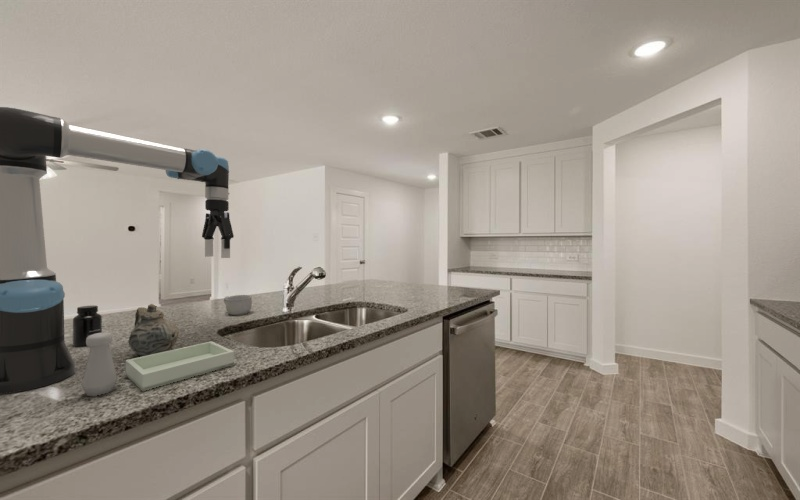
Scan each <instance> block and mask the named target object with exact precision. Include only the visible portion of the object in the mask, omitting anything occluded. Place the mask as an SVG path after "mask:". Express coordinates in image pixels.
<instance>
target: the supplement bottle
mask: <svg viewBox="0 0 800 500" xmlns="http://www.w3.org/2000/svg"><path fill="white" fill-rule="evenodd" d="M76 309H77V311H76V314H77V315H75V316H74V317H73V319H72V345H73V347H88V346H87V345H86V338H87V337H88V336H90V335H92V334H96V333H103V317H102V314H100V313H98V312H99V307H98V305H82V306H78V307H77V308H76Z"/></svg>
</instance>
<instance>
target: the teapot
mask: <svg viewBox="0 0 800 500" xmlns="http://www.w3.org/2000/svg"><path fill="white" fill-rule="evenodd" d="M157 308H158V306H157V305H155V304H153V303H150V304H148V305H147V308H145V307H142V306H141V307H138V308H137V309H136V312H135V318H134V328H133V329H132V331H131V332H130V335H129V337H128V338H129V339H128V345H129V347H130V349H131V350H132V351H134V352H135V353H136V354H137V355H138V356H140V357H142V356H147V355H151V354H156V353H160V352H165V351H169V350H173V347H174V346H175V344H176V343H177V341H178V339H179V328H178V326H176V323H174V322H173V321H171V320H166V319H165V318H164V317H165V314H164V312H163V311H162V310H158V309H157Z"/></svg>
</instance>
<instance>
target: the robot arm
mask: <svg viewBox="0 0 800 500" xmlns="http://www.w3.org/2000/svg"><path fill="white" fill-rule="evenodd" d="M66 156H72V157H79V158H84V159H90V160H91V159H93V160H98V161H99V160H100V161H104V162H105V161H106V162H110V163H111V162H112V163H118V164H124V165H131V166H138V167H144V168H150V169H157V170H163V171H165V173H166V175H167V177H168V178H171V179H172V178H173V179H177V180H184V181H185V180H186V181H195V182H201V183H204V184H205V185H204V186H205V187H204V192H205V193H204V194H205V196H204V197H205V199H206V200H205V203H204V204H205V205H204V206H205V210H206V211H209V213H205V220H204V225H203V228H202V229H203V230H202V232H201V233H202V234H201V238H203V239H204V257H205V258H206V257H214V235H215V232H216V229H217V227H218V230H219V233H220V236H221V238H220V244H221V246H220V247H221V248H220V249H221V250H220V251H221V253H220V254H221V256H220V259H230V258H231V240H232V239H233V238H234V236H235V235H234V232H233V227H232V224H231V219H230V212H229V201H228V200H229V196H230V191H229V178H230V177H229V175H230V169H229V168H230V167H229V161H228V160H227V159H226V158H224V157H220V156H216V155H215V154H214V153H213V152H212V151H210V150H207V149H196V150H194V149H191V148H183V147H179V146H175V145H169V144H165V143H160V142H155V141H150V140H147V139H146V140H145V139H142V138H141V139H140V138H135V137H132V136H126V135H123V134H122V135H121V134H116V133H112V132H107V131H102V130H98V129H93V128H87V127H83V126H77V125H74V124H69V123H67V122H66V121H65V120H64V119H63V118H61V117H56V116H51V115H47V114H42V113H37V112H34V111H30V110H26V109H25V110H24V109H19V108H16V107H9V106H8V107H7V106H0V395H4V394H5V395H6V394H13V393H19V392H23V391H29V390H33V389H38V388H42V387H45V386H49V385H52V384H56V383H58V382H60V381H63V380H65V379H68V378H69V377H71V376H73V375H74V374H75V372H76V369H75V368H76V363H75V361H74V359H73V357H72V355H71V352H70V351H69V349H68V347H67V345H66V342H65V341H66V340H65V312H64V311H65V303H64V298H65V295H66V293H65V291H64V286H63V284H62V283H61V282H58V281H57V275H56V272H54V271H53V270H51V269H50V268H48V263H47V251H46V240H45V229H44V218H43V217H44V216H43V208H42V195H41V183H40V181H41V180H40V179H42V178H43V177H45V175H47V174H48V168H47V158H46V157H52V158H59V159H62V158H64V157H66Z"/></svg>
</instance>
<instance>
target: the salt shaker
mask: <svg viewBox="0 0 800 500" xmlns="http://www.w3.org/2000/svg"><path fill="white" fill-rule="evenodd" d="M111 343H113V335H112V334H111V333H110V332H102V333H96V334H92V335H90V336H88V337H87V338H86V345H87V346H86V347H88V348H89V347H90V348H89V351H88V356H87V360H86V365H85V369H84V373H83V378H82V381H81V387H82V390H83V391H84V393H85V394H86V395H87V397H98V396H97V395H99V396H102V395H101V394H103V395H106V394H108V393H110V392H112V391H113V389H114V388H115V385H116V384H117V380H118V375H117V371H116V367H115V364H114V359H113V355H112V351H111V348H110V344H111ZM109 391H110V392H109ZM105 393H106V394H105Z"/></svg>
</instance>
